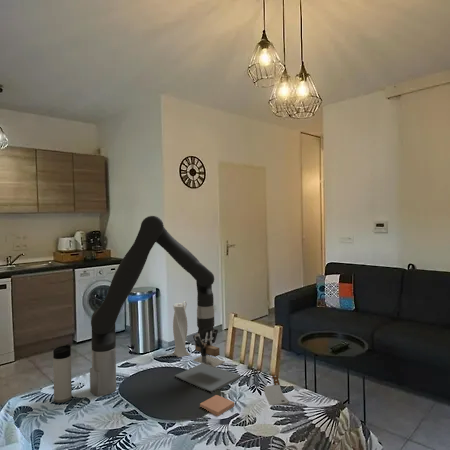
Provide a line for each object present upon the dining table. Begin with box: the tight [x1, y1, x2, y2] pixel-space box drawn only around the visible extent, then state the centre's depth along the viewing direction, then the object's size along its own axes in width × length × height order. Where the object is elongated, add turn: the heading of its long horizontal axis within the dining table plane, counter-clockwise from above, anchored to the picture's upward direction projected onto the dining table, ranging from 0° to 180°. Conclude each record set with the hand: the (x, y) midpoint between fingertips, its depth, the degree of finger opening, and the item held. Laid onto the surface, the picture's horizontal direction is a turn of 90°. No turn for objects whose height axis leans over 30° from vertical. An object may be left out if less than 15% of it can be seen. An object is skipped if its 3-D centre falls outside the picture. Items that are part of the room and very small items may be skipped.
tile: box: [199, 394, 235, 417], centre depth 134 cm, size 9×2×9 cm
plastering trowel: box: [193, 342, 226, 368], centre depth 157 cm, size 13×7×7 cm, turn 49°
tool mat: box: [174, 363, 241, 391], centre depth 158 cm, size 18×22×1 cm
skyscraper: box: [172, 300, 191, 358], centre depth 185 cm, size 8×8×28 cm
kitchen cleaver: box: [262, 374, 290, 406], centre depth 146 cm, size 24×1×10 cm
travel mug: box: [52, 344, 73, 404], centre depth 140 cm, size 6×7×20 cm
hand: (206, 354), depth 158 cm, fingers closed on plastering trowel, 2 cm apart
